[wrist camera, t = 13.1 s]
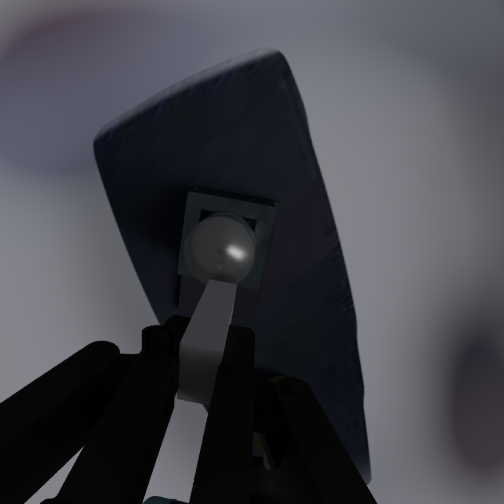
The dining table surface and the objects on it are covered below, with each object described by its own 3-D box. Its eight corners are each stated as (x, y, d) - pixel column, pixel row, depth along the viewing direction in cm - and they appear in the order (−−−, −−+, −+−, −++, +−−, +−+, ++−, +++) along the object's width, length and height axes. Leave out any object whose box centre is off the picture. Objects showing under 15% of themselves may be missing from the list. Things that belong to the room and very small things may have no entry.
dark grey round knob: (252, 258, 36) (249, 292, 26) (203, 251, 36) (181, 281, 26) (260, 208, 35) (259, 223, 25) (208, 201, 35) (186, 213, 24)
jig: (253, 321, 40) (252, 351, 33) (180, 307, 40) (165, 333, 33) (279, 201, 36) (283, 208, 29) (196, 186, 35) (181, 190, 28)
